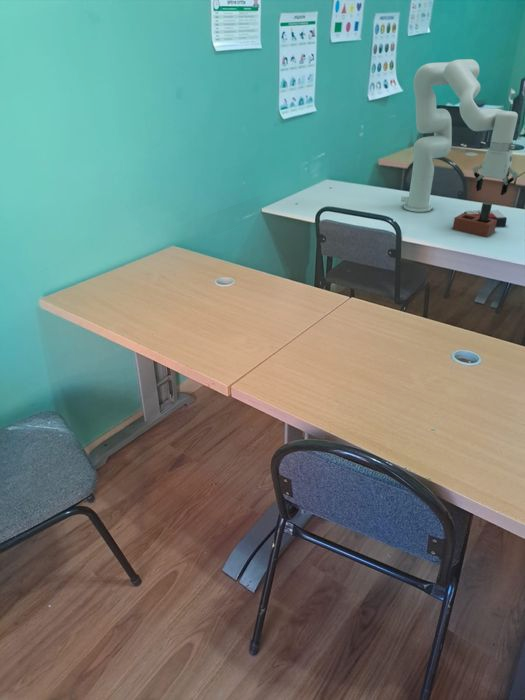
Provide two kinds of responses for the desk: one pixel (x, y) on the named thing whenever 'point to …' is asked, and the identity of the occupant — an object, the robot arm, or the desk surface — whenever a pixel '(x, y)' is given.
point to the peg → (485, 212)
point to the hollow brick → (474, 225)
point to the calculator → (492, 216)
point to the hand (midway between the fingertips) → (490, 192)
